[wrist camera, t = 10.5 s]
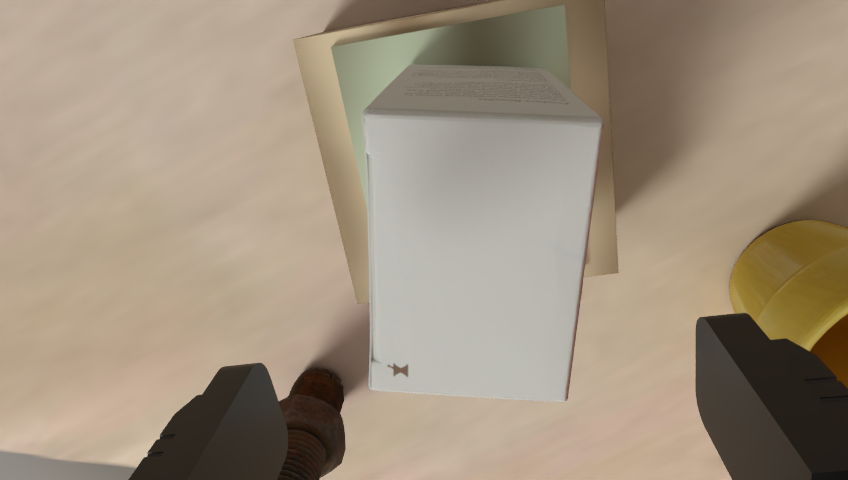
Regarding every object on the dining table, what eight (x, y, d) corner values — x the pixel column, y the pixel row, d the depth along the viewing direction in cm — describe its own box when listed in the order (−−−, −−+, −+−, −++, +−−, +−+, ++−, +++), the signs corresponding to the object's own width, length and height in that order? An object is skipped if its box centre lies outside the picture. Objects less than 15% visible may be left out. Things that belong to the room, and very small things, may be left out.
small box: (531, 253, 25) (569, 412, 16) (404, 247, 26) (365, 399, 16) (551, 63, 22) (613, 117, 13) (406, 59, 23) (359, 108, 13)
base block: (579, -16, 26) (605, -18, 21) (595, 230, 30) (619, 275, 26) (322, 32, 27) (290, 40, 23) (373, 259, 32) (356, 307, 27)
